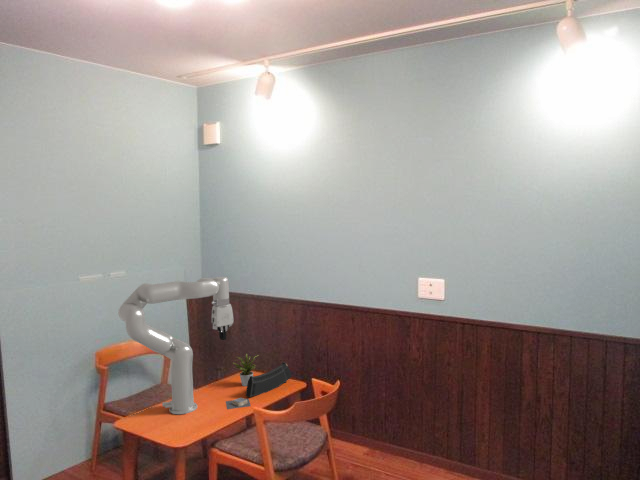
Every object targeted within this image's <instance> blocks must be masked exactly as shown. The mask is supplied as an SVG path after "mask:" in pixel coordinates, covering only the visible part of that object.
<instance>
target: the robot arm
mask: <svg viewBox="0 0 640 480" xmlns="http://www.w3.org/2000/svg"><path fill="white" fill-rule="evenodd" d="M229 285H230V284H229V279H228V277H226V276H217V277H202V278H199V279H198V280H196V281H190V282H189V281H181V280H180V281H179V280H177V281H176V280H175V281H170V282H162V283H155V284H151V283H148V282H147V283H142V284H140V285H139V286H138V287H137V288H136V289H135V290H134V291H133V292H132V293H131V294H130V295H129V296H128V298H127V299H126V300H124V302H123V303H122V304H121V305H120V306H119V309H118V316H119V318H120V320H122V321H123V322H125V329H126V333H127V334H128V336H129V337H130V339H131V340H133V341H135V342H136V343H139V344H140V345H142V346H144V347H146V348H148V349H149V350H150V351H152V352H154V353H158V354H160V355H162V356H164V357H166V358H168V359H170V360H171V367H170V381H171V400H169V401H164V402H162V407H163V408H165V409H167V408H169V409H168V410H169V413H170V414H173V415H186V414H190V413H193V412H194V411H196V410H197V409H198V404H197V403H196V402H194V401H195V399H194V381H193V358H194V353H193V352H194V351H193V348H192V347H191V346H190V344H188V343H187V342H185V341H183V340H181V339H178V338H177V337H175V336H173V335H170V334H168V333H167V332H165V331H163V330H161V329H159V328H154V327H152V326H151V325H149V324H147V322H146V319H145V318H146V317H145V312H144V308H145V306H146V305H147V304H150V305H151V304H153V305H154V304H159V303H160V304H161V303H165V302H171V301H179V300H182V301H183V300H190V299H200V298H201V299H202V298H207V297H213V299H212V301H211V305H213V306H212V307H211V308H212V309H211V325H212V330H217V332H219V334H218V335H219V340H221V341H225V340H227V332H228V329H229V328H230V327H232V326H233V324H234V322H235V321H234V312H233V311H234V310H233V307H232V304H231V303H230V291H229V290H230V289H229V287H230V286H229Z"/></svg>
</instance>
